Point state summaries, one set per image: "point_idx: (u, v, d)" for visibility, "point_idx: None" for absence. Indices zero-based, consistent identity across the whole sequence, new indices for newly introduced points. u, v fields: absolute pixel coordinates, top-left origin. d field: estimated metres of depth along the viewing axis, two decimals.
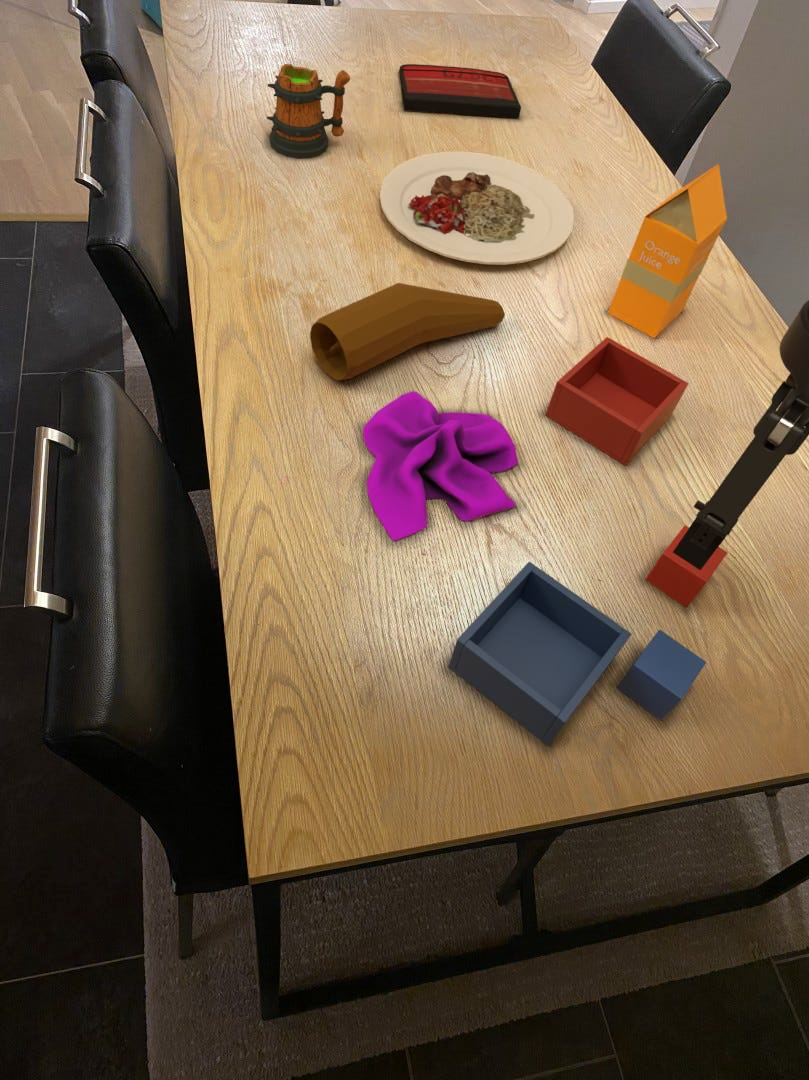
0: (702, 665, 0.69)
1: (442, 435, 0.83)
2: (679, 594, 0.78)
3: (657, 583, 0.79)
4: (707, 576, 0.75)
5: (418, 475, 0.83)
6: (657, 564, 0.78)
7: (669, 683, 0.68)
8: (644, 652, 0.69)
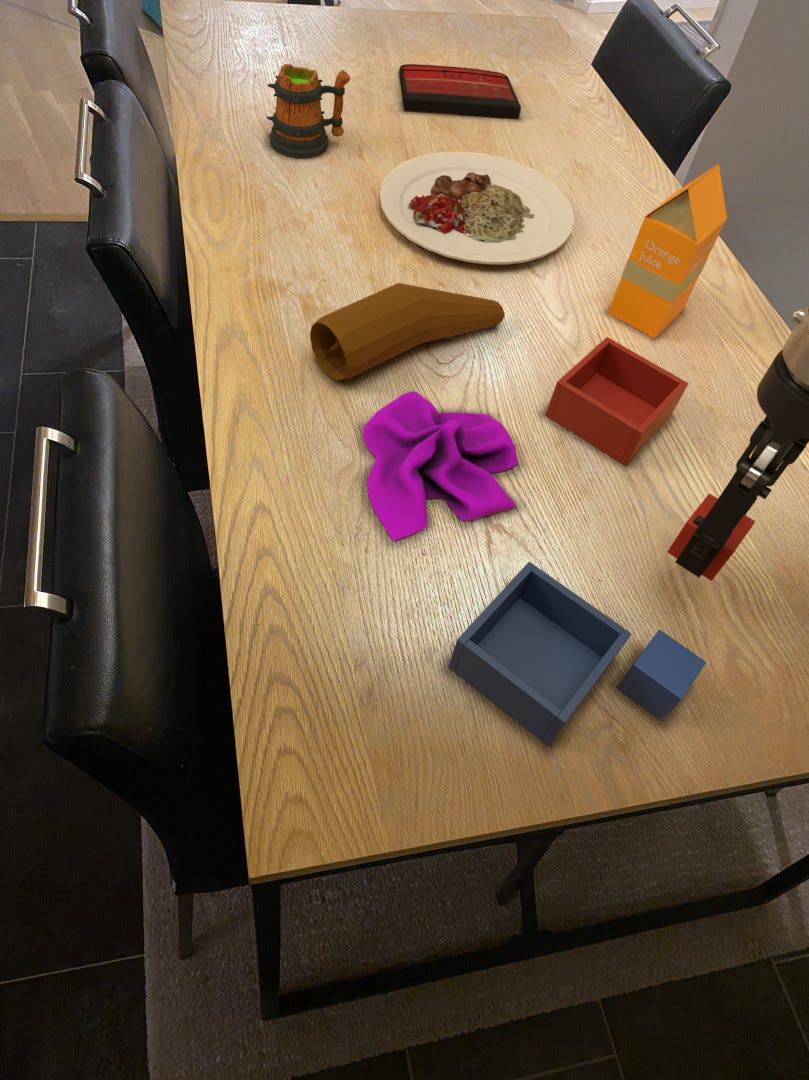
0: (702, 665, 0.69)
1: (442, 435, 0.83)
2: None
3: None
4: (734, 546, 0.70)
5: (418, 475, 0.83)
6: (680, 534, 0.73)
7: (669, 683, 0.68)
8: (644, 652, 0.69)
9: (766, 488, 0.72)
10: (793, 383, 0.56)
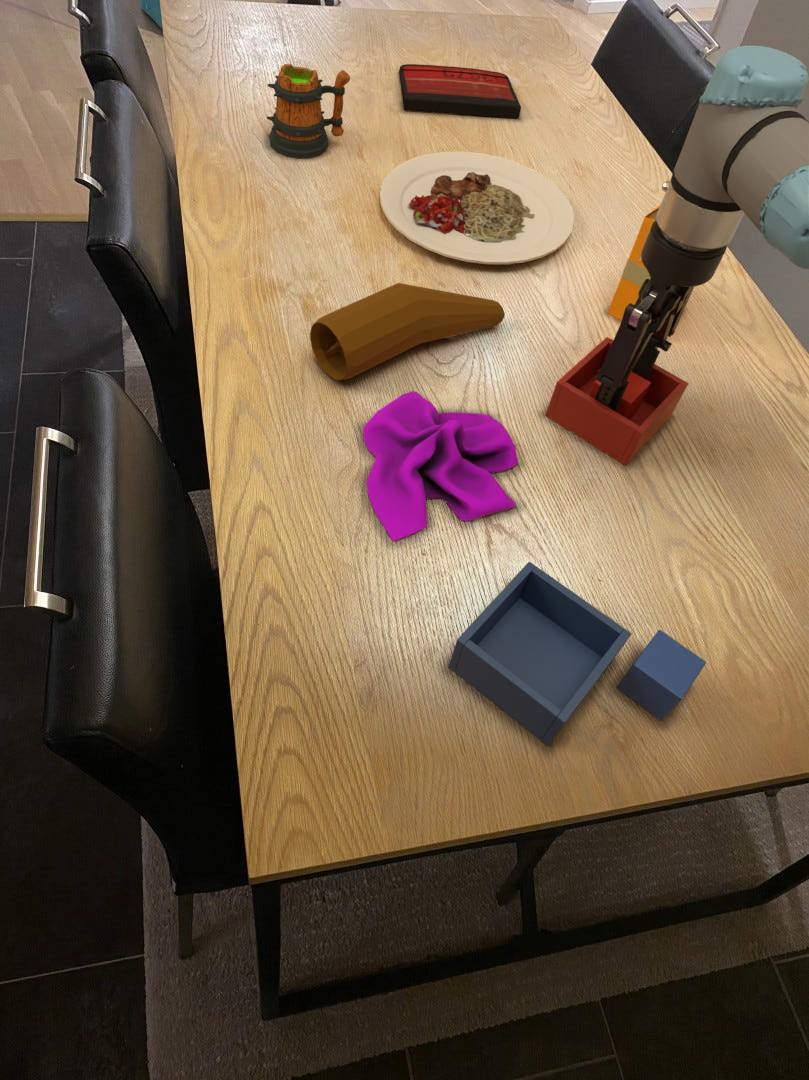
0: (702, 665, 0.69)
1: (442, 435, 0.83)
2: None
3: None
4: (631, 399, 0.88)
5: (418, 475, 0.83)
6: (591, 394, 0.91)
7: (669, 683, 0.68)
8: (644, 652, 0.69)
9: (667, 342, 0.89)
10: (663, 239, 0.73)
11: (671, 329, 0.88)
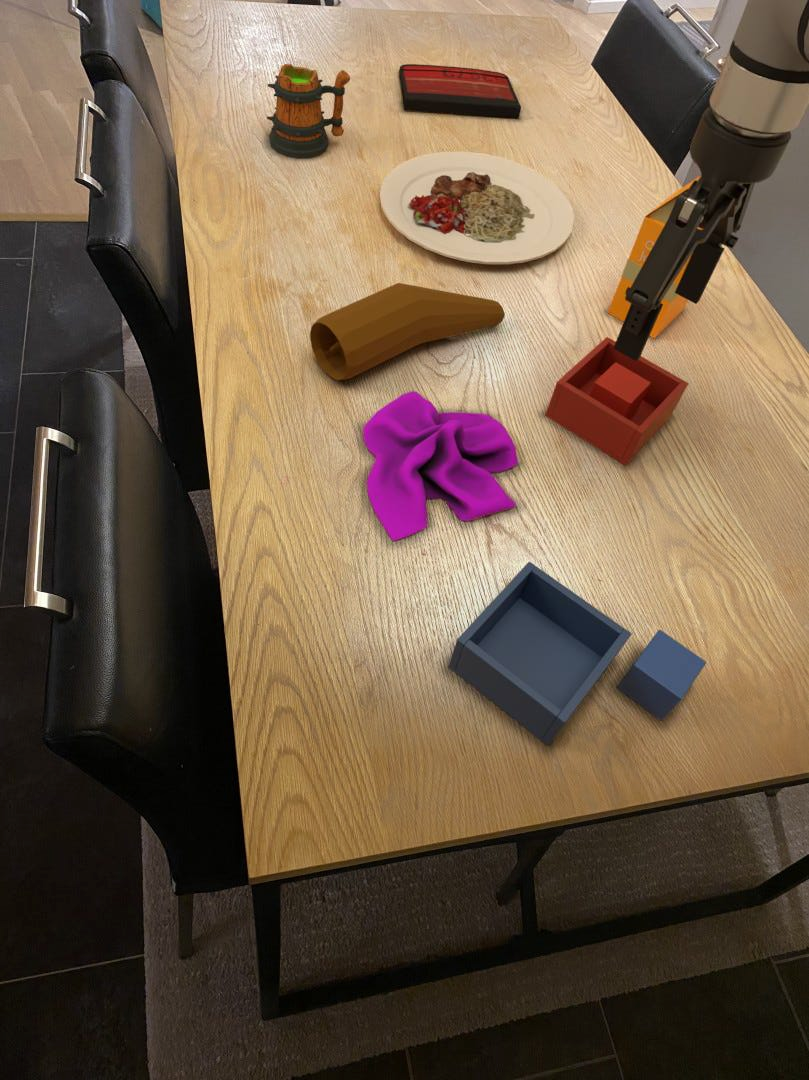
0: (702, 665, 0.69)
1: (442, 435, 0.83)
2: None
3: None
4: (631, 399, 0.88)
5: (418, 475, 0.83)
6: (591, 394, 0.91)
7: (669, 683, 0.68)
8: (644, 652, 0.69)
9: (733, 237, 0.78)
10: (718, 125, 0.63)
11: (735, 226, 0.78)
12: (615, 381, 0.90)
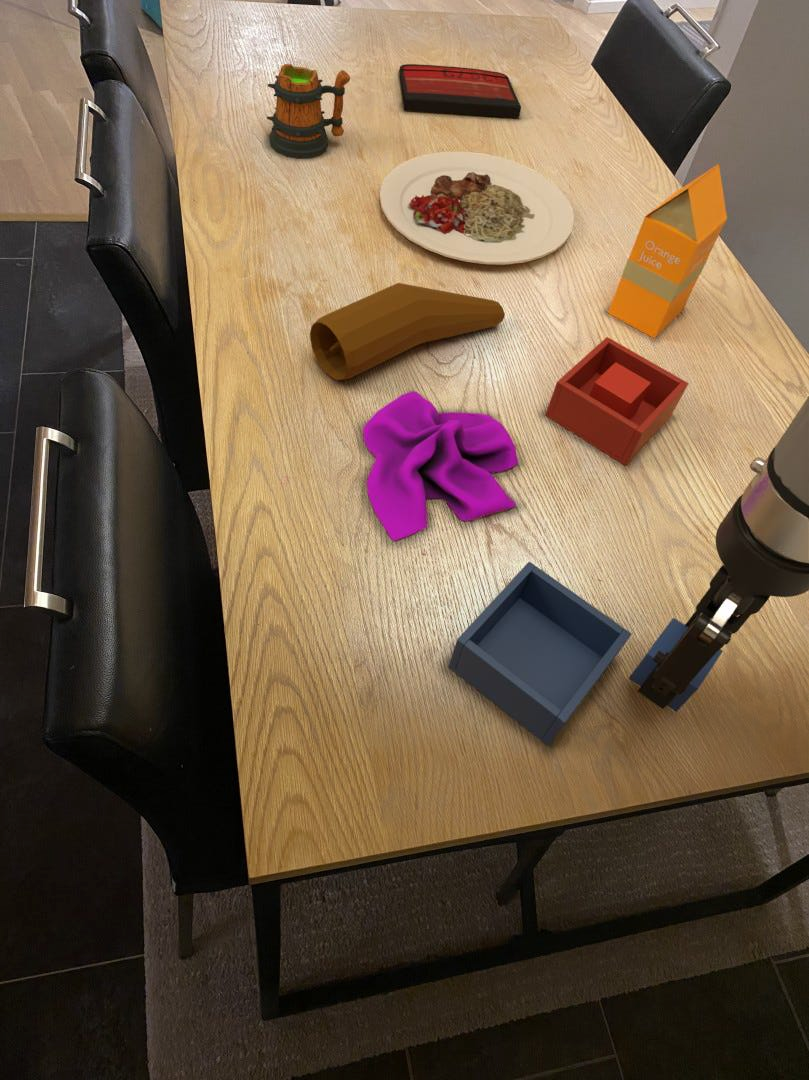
0: (718, 654, 0.67)
1: (442, 435, 0.83)
2: None
3: None
4: (631, 399, 0.88)
5: (418, 475, 0.83)
6: (591, 394, 0.91)
7: None
8: (658, 641, 0.67)
9: None
10: (752, 538, 0.51)
11: None
12: (615, 381, 0.90)
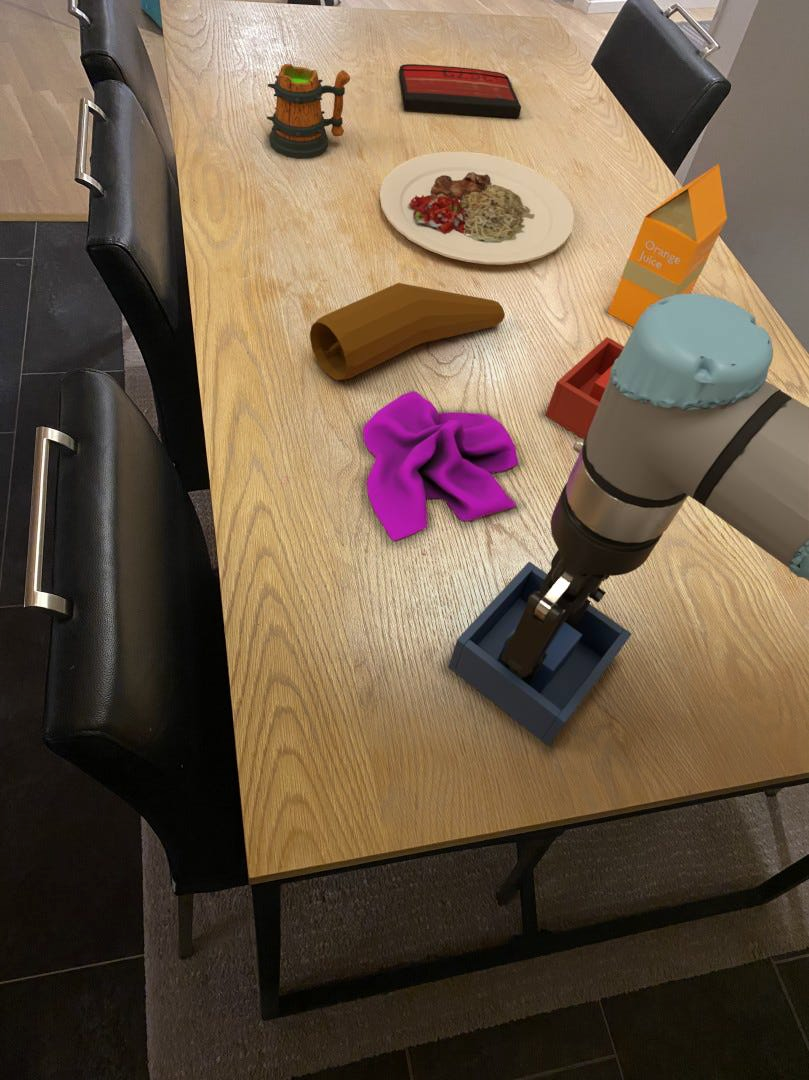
0: (577, 638, 0.69)
1: (442, 435, 0.83)
2: None
3: None
4: None
5: (418, 475, 0.83)
6: (591, 394, 0.91)
7: None
8: None
9: (600, 590, 0.68)
10: (575, 518, 0.52)
11: None
12: None
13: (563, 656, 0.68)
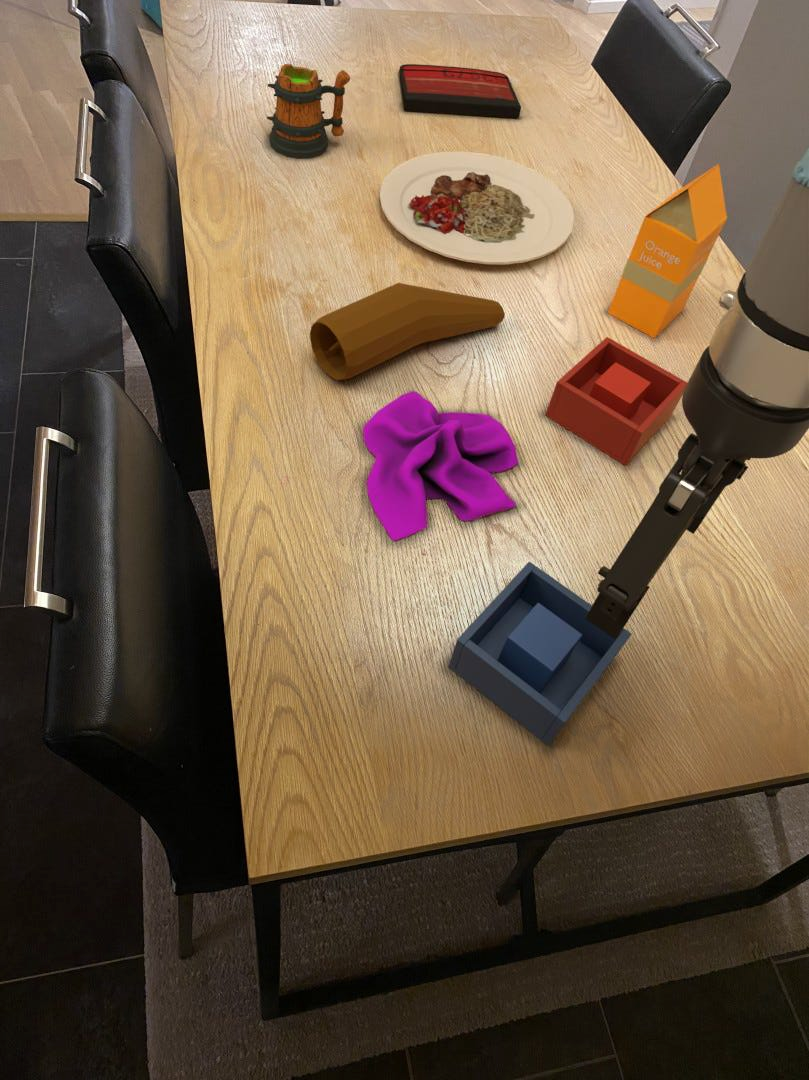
0: (577, 638, 0.69)
1: (442, 435, 0.83)
2: None
3: None
4: (631, 399, 0.88)
5: (418, 475, 0.83)
6: (591, 394, 0.91)
7: (541, 656, 0.67)
8: (519, 624, 0.69)
9: None
10: (722, 386, 0.44)
11: None
12: (615, 381, 0.90)
13: (563, 656, 0.68)
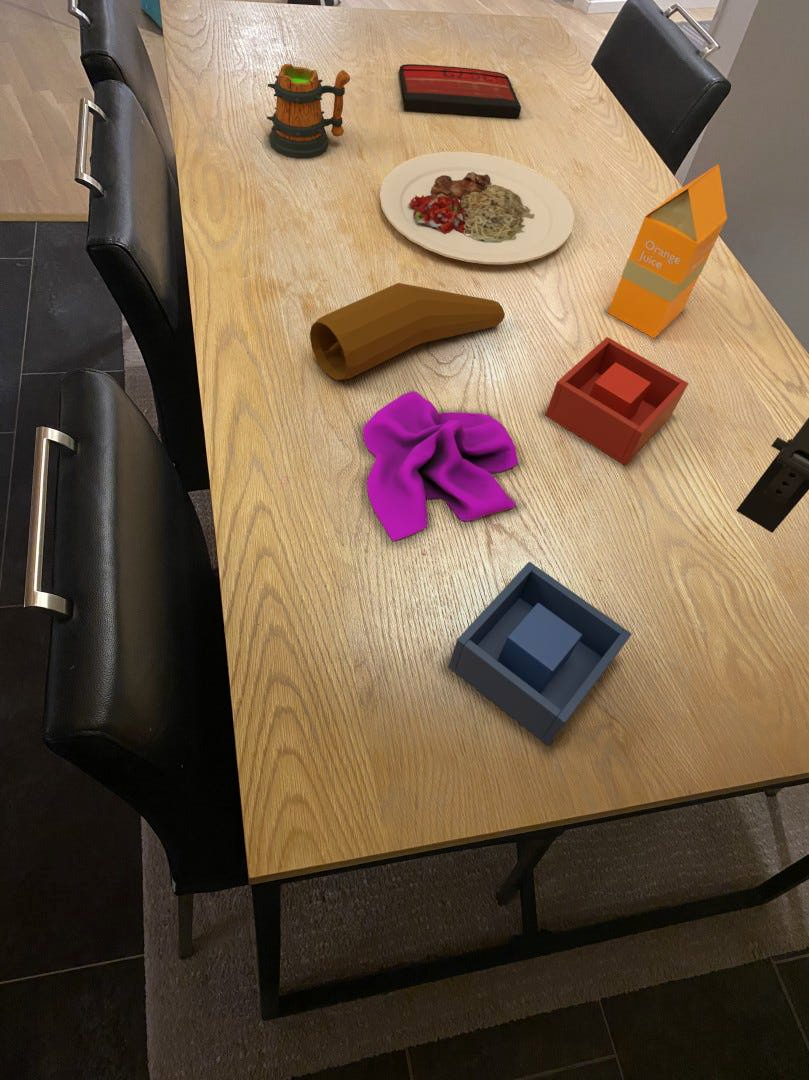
0: (577, 638, 0.69)
1: (442, 435, 0.83)
2: None
3: None
4: (631, 399, 0.88)
5: (418, 475, 0.83)
6: (591, 394, 0.91)
7: (541, 656, 0.67)
8: (519, 624, 0.69)
9: None
10: None
11: None
12: (615, 381, 0.90)
13: (563, 656, 0.68)
